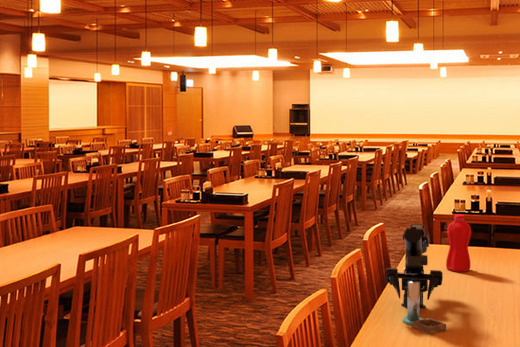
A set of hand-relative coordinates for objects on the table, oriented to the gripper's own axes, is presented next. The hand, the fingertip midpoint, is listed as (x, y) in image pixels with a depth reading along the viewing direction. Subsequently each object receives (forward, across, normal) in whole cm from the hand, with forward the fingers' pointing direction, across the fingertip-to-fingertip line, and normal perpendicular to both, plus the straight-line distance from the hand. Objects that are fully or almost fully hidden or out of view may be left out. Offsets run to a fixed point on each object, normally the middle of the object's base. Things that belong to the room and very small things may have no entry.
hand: (413, 298), depth 216 cm
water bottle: (-50, +21, +62) cm, 82 cm away
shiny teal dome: (+5, 0, +7) cm, 8 cm away
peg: (+4, 0, +6) cm, 8 cm away
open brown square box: (+9, +5, +2) cm, 11 cm away
